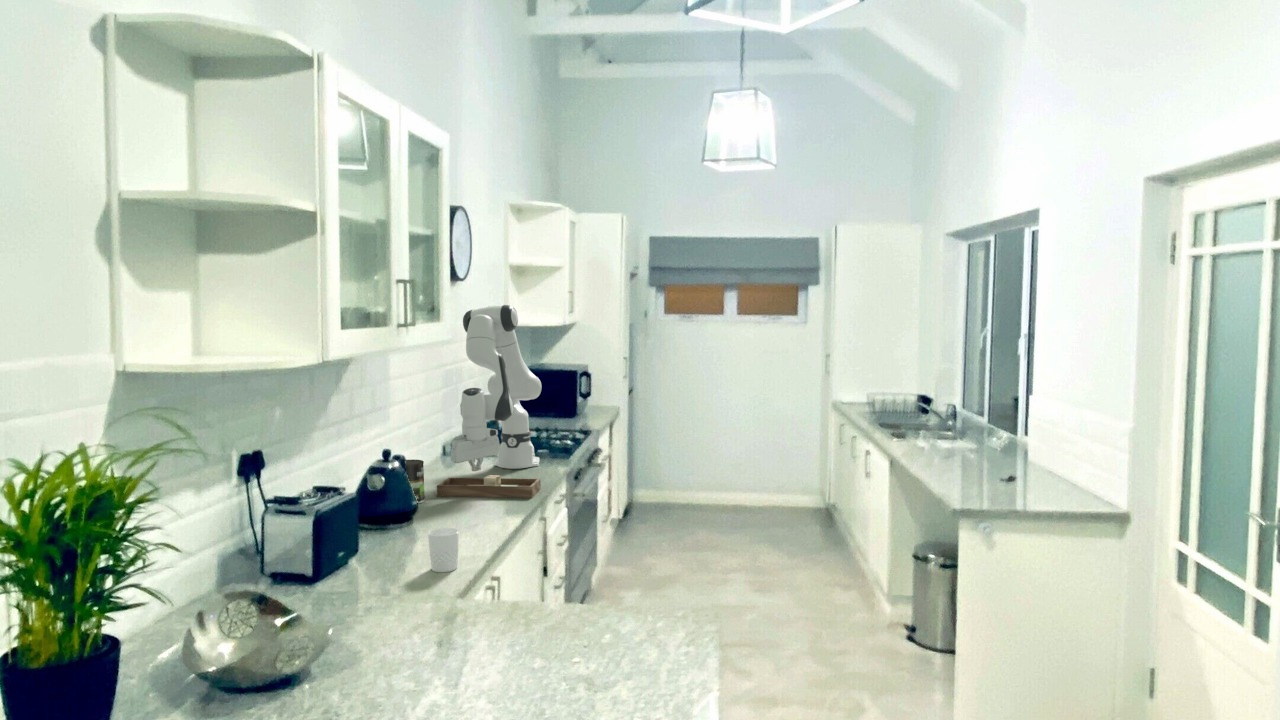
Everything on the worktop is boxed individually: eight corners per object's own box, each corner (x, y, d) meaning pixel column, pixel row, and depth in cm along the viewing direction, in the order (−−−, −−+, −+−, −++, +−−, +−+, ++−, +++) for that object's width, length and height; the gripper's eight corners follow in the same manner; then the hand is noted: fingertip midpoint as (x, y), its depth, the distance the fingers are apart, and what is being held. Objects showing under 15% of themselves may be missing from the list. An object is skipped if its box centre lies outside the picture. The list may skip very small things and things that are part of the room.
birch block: (489, 487, 321) (489, 475, 320) (500, 487, 319) (500, 475, 319) (484, 489, 316) (483, 477, 316) (495, 490, 315) (495, 478, 315)
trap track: (448, 488, 329) (448, 477, 328) (540, 489, 325) (540, 478, 324) (436, 496, 316) (436, 485, 316) (532, 497, 312) (532, 486, 312)
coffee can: (428, 498, 314) (427, 459, 313) (420, 505, 304) (419, 464, 302) (399, 498, 314) (398, 459, 313) (390, 505, 304) (389, 465, 303)
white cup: (449, 574, 229) (448, 537, 228) (423, 571, 232) (422, 534, 231) (465, 565, 237) (464, 529, 236) (440, 562, 239) (438, 526, 239)
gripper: (457, 438, 309) (459, 477, 311) (501, 429, 325) (502, 466, 326) (446, 437, 313) (447, 475, 315) (490, 428, 329) (491, 464, 330)
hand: (476, 470), depth 321 cm, fingers closed
